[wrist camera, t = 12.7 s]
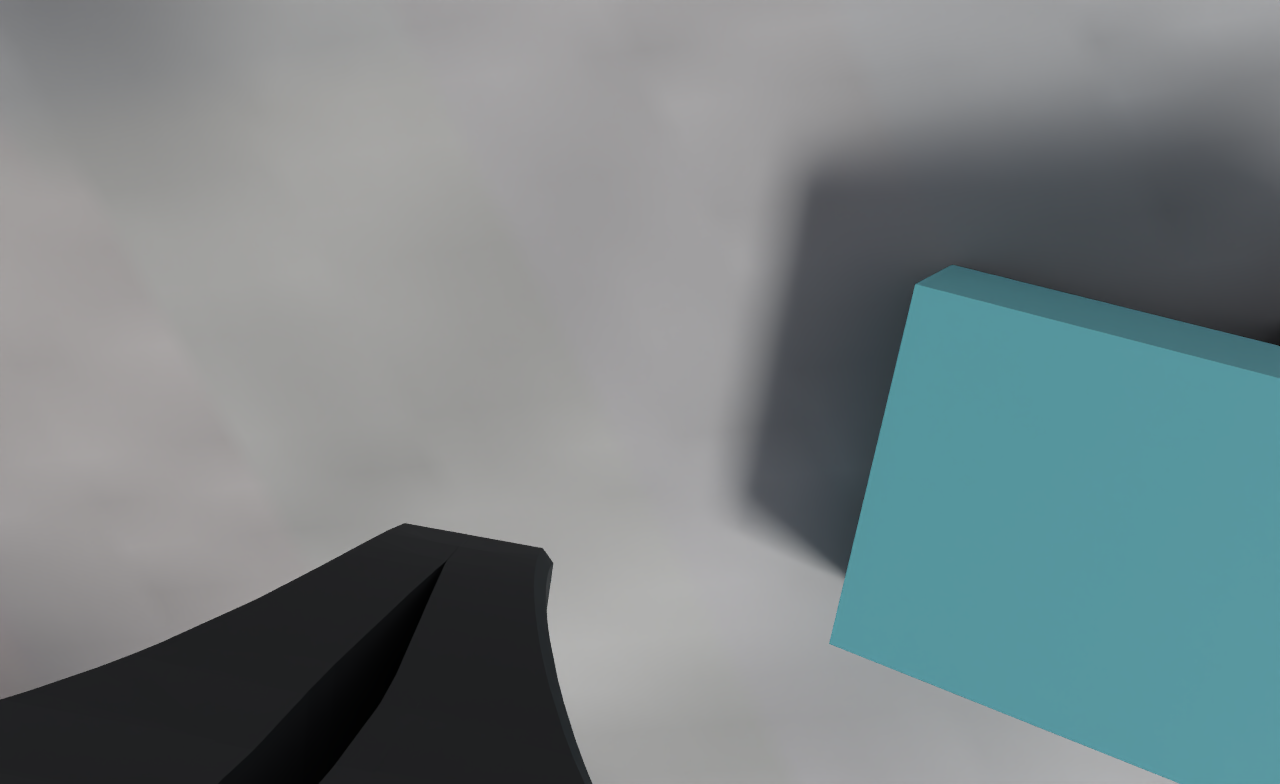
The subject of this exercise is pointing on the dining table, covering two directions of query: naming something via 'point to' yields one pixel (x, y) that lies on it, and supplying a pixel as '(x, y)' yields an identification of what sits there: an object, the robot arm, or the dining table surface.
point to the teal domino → (1079, 525)
